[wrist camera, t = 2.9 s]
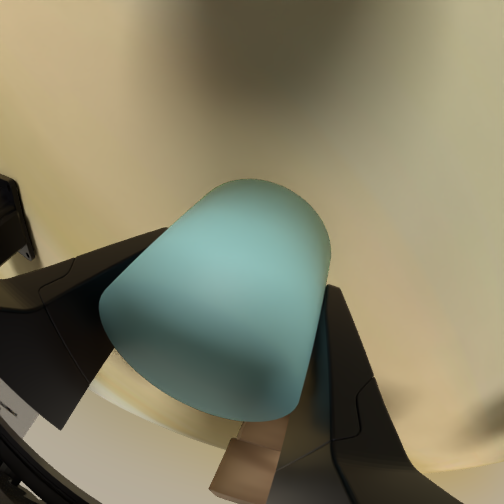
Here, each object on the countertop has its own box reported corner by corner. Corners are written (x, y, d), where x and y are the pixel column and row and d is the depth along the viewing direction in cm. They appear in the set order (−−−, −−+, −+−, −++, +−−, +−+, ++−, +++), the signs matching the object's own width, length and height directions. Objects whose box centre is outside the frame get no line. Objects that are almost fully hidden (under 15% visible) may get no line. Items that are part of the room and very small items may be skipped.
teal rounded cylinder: (189, 277, 12) (120, 370, 8) (196, 161, 9) (78, 244, 5) (305, 319, 11) (269, 436, 7) (353, 209, 8) (341, 349, 4)
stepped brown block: (233, 458, 17) (216, 496, 14) (231, 437, 13) (208, 488, 11) (311, 478, 15) (298, 517, 13) (335, 462, 12) (320, 516, 9)
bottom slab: (244, 417, 19) (229, 455, 17) (259, 388, 16) (240, 437, 13) (316, 439, 18) (305, 477, 16) (350, 414, 15) (340, 464, 12)
